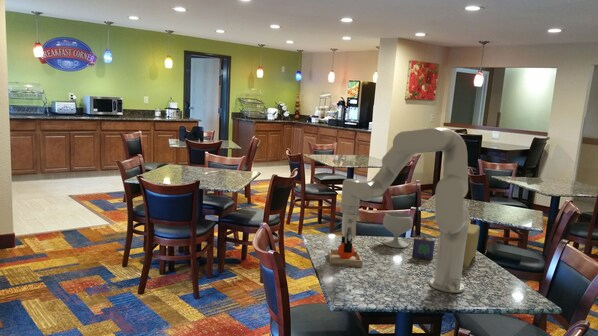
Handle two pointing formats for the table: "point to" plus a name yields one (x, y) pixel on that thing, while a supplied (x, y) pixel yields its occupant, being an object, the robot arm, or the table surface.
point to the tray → (352, 261)
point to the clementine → (344, 255)
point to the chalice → (397, 227)
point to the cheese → (471, 244)
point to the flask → (423, 248)
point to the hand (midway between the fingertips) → (346, 249)
